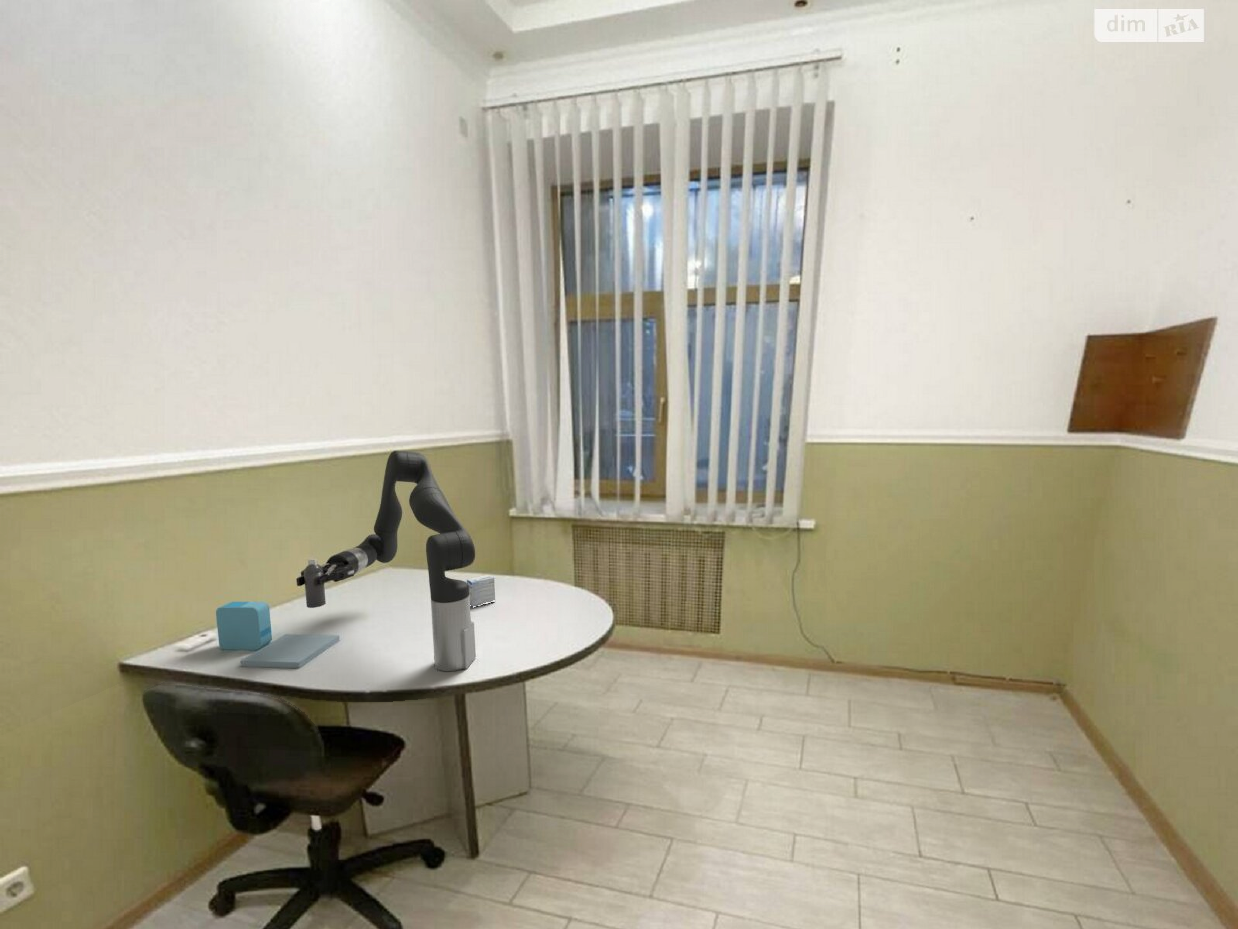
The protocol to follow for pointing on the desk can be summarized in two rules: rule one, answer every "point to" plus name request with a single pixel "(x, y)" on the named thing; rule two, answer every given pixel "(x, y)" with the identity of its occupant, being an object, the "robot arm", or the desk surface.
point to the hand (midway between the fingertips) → (306, 582)
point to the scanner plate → (290, 651)
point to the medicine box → (481, 590)
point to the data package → (244, 625)
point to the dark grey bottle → (313, 593)
